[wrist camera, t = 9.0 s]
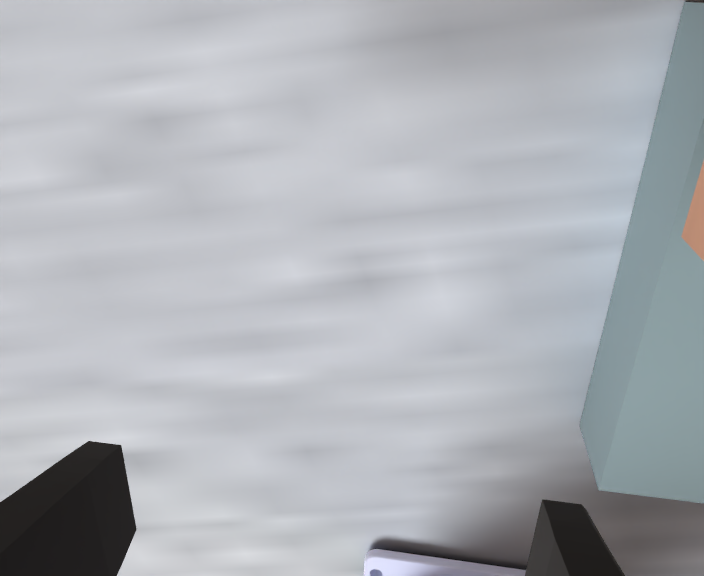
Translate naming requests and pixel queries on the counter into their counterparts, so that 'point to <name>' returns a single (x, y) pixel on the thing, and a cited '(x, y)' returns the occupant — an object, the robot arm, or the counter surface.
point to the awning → (696, 219)
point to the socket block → (657, 308)
